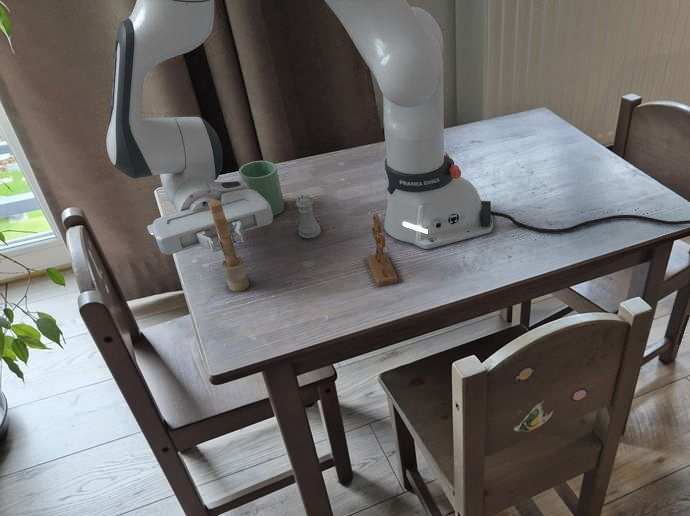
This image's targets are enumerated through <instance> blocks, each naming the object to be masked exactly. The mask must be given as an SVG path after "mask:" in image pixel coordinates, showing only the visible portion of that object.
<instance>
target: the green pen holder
mask: <svg viewBox="0 0 690 516" xmlns="http://www.w3.org/2000/svg"><path fill="white" fill-rule="evenodd" d="M238 176H239V179H240V181H244V182H246V183H247V186H248V188H249V189H252V190H255V191H256V192H258V193H259V194H260V195H261V196H262V197H264V198H265V199H266V201H267V202H268V203H269V204H270V207H271V210H272V214H273V217H274V216H278V215H279V214H281V213H282V212H283V211H284V209H285V207H286V206H285V201H284V196H283V191H282V186H281V182H280V176H279V173H278V168H277V164H275V163H274V162H272V161H268V160H255V161H251V162H247V163H245V164H243V165H241V166H240V168H239V169H238Z"/></svg>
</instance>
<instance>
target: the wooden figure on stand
mask: <svg viewBox="0 0 690 516" xmlns="http://www.w3.org/2000/svg"><path fill="white" fill-rule="evenodd" d="M372 220H373V225H372V227H371V232H372V238H373V240H374V241H375V253H374V254H369V255H366V262H367V264H368V267H369V270H370V272H371V274H372V276H373V279H374V281H375V283H376V285H377V287H383V286H388V285H393V284H398V282H399V278H398V275H397V274H396V272H395V270H394V267H393V265H392V263H391V261H390V259H389V256H388V254H387V253H386V252H384V248H386V238H385V234H384V232H383V230H382V223H381V219H380V216H379V214H378V213H374V214H372Z"/></svg>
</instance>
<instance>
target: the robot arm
mask: <svg viewBox="0 0 690 516" xmlns="http://www.w3.org/2000/svg"><path fill="white" fill-rule="evenodd" d="M323 1H324V2H325V3H326V5H327V6H328V7H329V8H330V10H331V11H332V12H333V13H334V15H335V16H336V18H337V19H338V20H339V22H340V23H341V25H342V26H343V27H344V29H345V31H346V32H347V34H348V36H349V38H350V39H351V41H352V43H353V44H354V46H355V48H356V49H357V51H358V53H359V54H360V56H361V58H362V59H363V60H364V63H365V64H366V65H367V67H368V68H369V70H370V72H371V73H372V75H373V76H374V78H375V80H376V83H377V84H378V87H379V90H380V91H381V94H382V96H383V97H382V98H383V100H382V102H383V103H382V105H383V132H384V133H383V134H384V146H385V160H384V170H383V171H384V181H385V187H386V190H387V201H386V211H385V217H384V220H383V228H384V231H385V232H386V233H387V234H388V236H390V237H392V238H394V239H396V240H398V241H401V242H404V243H410V244H413V245H416V246H417V247H419V248H421V249H423V250H429V249H431V250H432V249H434V248H438V247H442V246H445V245H449V244H453V243H457V242H460V241H464V240H467V239H472V238H475V237H479V236H483V235H486V234H489V233H491V232H492V230H493V228H494V218H493V216H496V217H501V218H505V219H507V220H509V221H510V222H511V223H513V225H515V226H518V227H521V228H523V229H527V230H530V231H534V232H538V233H550V234H551V233H554V234H555V233H557V234H559V233H566V232H570V231H575V230H576V229H579V228H582V227H585V226H588V225H592V224H597V223H601V222H606V221H612V220H618V219H635V220H642V221H647V222H650V223H651V222H652V223H657V224H662V225H669V226H674V225H675V226H676V225H677V226H679V225H690V219H689V220H687V219H686V220H665V219H659V218H653V217H649V216H645V215H637V214H616V215H609V216H604V217H600V218H596V219H591V220H586V221H584V222H581V223H578V224H575V225H572V226H569V227H565V228H542V227H541V228H540V227H534V226H532V225H531V226H530V225H527V224H525V223H522V222H519V221H517V220H516V219H515V218H514V217H513V216H511V215H509V214H506V213H503V212H499V211H498V212H497V211H492V205H491V204H492V203H491V202H492V201H490V200H482V199H481V196H480V194H479V192H478V190H477V188H476V187H475V185H473V183H471V181H469V180H468V179H466V178H464V177H462V171H461V169H460V167H459V166H458V165H456V164H455V160H453V158H451V157H450V155H449V154H448V152H445V111H444V110H445V109H444V108H445V103H444V100H445V96H444V95H445V93H444V87H445V85H444V84H445V83H444V82H445V81H444V75H445V73H444V37H443V36H444V35H443V32H442V30H441V28H440V26H439V24H438V22H437V21H436V19H435V17H433V15H431V13H429V12H428V11H427V10H426V9H423V8H421V7H419V6H410V4H409V3H408V1H407V0H323ZM214 22H215V0H136V2H135V5H134V8H133V10H132V12H131V14H130V15H129V17H128V18H126V19H124V20H122V21H120V23H119V26H118V28H117V31H116V36H115V37H116V38H115V43H114V44H115V45H114V55H113V56H114V58H113V66H112V67H113V69H112V82H111V99H110V100H111V101H110V114H109V121H108V127H107V133H106V142H105V143H106V145H105V146H106V151H107V155H108V157H109V160H110V162H111V165H112V166H113V167H114V168H115V169H116V170H118V171H119V172H120V173H122V174H124V175H126V176H128V177H129V178H131V179H139V178H147V177H152V176H155V175H157V176H158V175H159V177H160V183H161V185H162V189H163V191H164V193H165V195H166V197H167V199H168V201H169V202H170V203H171V205H172V206H173V208H174V210H175V212H174V213H170V214H167V215H163V216H160V217H158V218H155V220H153V222H152V223H149V225H147V232H148V233H149V235H150V236H151V237H154V238H155V241H156V243H157V246H158V248H159V251H160V253H161V254H163V255H166V256H171V255H174V254H178V253H180V252H183V251H184V252H185V251H187V250H190V249H193V248H197V247H200V246H201V247H203V248H207V249H210V250H211V252H212V253H216V252H218V251H219V252H220V251H222V247H221V244H220V241H219V237H218V234H217V231H216V228H215V224H214V221H213V218H212V215H211V211H210V208H209V205H208V204H209V202H211V201H214V200H219V201H221V204H222V207H223V211H224V214H225V218H226V221H227V224H228V228H229V231H230V235H231V238H232V242H233V244H235V245H236V246H237V245H240V244H244V243H245V240H244V234H245V232H249V231H252V230H254V229H260V228H261V227H265V226H269V225H271V224H272V223H273V221H274V216H273V214H272V210H271V207H270V204H269V203H268V202H267V201H266V199H265V198H264V197H262V196H261V195H260V194H259V193H258V192H256V191H255V190H252V189H249V188H248V186H247V183H246V182H244V181H241V180H234V181H217V179H218V178H219V176H220V174H221V172H222V170H223V165H224V156H223V147H222V143H221V140H220V138H219V135H218V134H217V131H216V130H215V129H214V128H213V127H212V126H211V125H210V123H209V122H208V121H206V119H204V118H202V117H201V116H172V117H146V118H145V117H141V113H142V101H143V90H144V81H145V78H146V76H147V74H148V73H149V71H151V70H152V69H153V68H155V67H156V66H158V65H160V64H161V63H163V62H165V61H167V60H169V59H172V58H175V57H179V56H181V55H185V54H188V53H189V52H191V51H194V50H195V49H197V48H198V47H200V46H201V45H202V44H203V43H204V42H205V41H206V40H207V39H208V38H209V36H210V35H211V33H212V31H213V28H214ZM689 320H690V314H687V315H686V316H685V319H684V322H683V325H682V327H681V331H680V333H679V336H678V340H677V342H676V344H677V345H678V346H680V345H681V343H682V341H683V337H684V334H685V331H686V328H687V325H688V322H689Z"/></svg>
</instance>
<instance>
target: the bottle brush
mask: <svg viewBox="0 0 690 516" xmlns="http://www.w3.org/2000/svg"><path fill="white" fill-rule="evenodd" d="M208 205H209V208H210V211H211V215H212V218H213V221H214V224H215V228H216V231H217V234H218V237H219V240H218V241H219V243H220V247H221V249H222V250H221V251H222V254H223V257H224V260H223V262H222V263H221V266H222V267H221V268H222V270H223V273H224V276H225V280H226V283H227V285H228V289H229V290H230V291H231V292H242V291H244V290H246V289H248V288H249V286H250V281H249V277H248V273H247V271H246V266H245V263H244V260H243V259H242V258H240V257H238V256H237V253H236V250H235V246H234V242H233V239H232V236H231V235H230V231H229V228H228V224H227V221H226V218H225V214H224V211H223V207H222V204H221V201H219V200H214V201H211V202H209V204H208Z"/></svg>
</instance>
